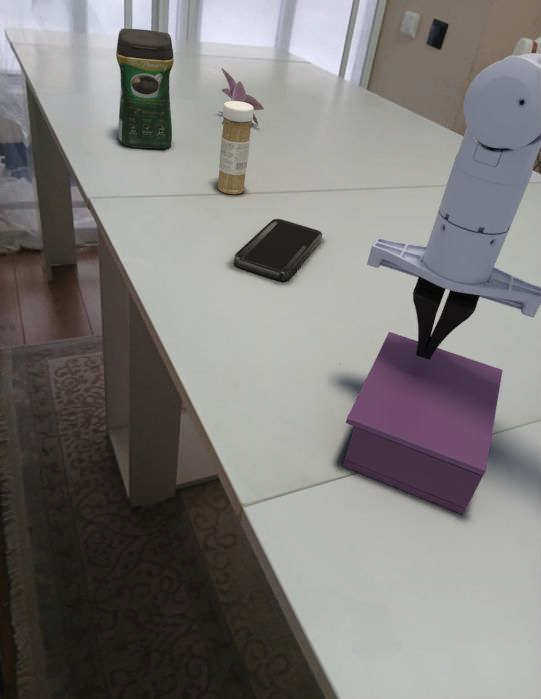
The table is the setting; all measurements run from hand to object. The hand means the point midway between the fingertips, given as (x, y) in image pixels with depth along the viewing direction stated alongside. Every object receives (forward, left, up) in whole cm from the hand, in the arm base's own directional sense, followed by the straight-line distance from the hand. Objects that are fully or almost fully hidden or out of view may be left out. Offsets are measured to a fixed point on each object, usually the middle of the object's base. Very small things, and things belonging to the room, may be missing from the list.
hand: (424, 352), depth 56 cm
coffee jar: (+60, -46, -7) cm, 76 cm away
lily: (+53, -71, -7) cm, 89 cm away
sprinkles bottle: (+38, -37, -7) cm, 53 cm away
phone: (+23, -22, -7) cm, 32 cm away
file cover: (-2, +4, -2) cm, 5 cm away
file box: (-2, +4, -7) cm, 8 cm away
